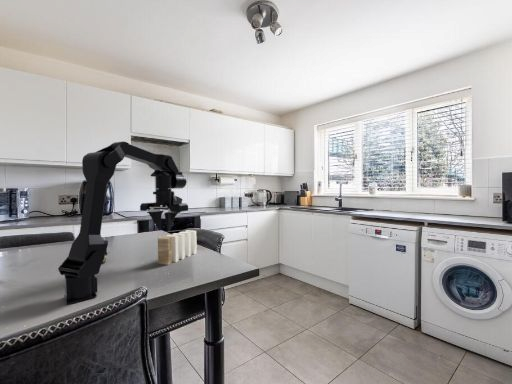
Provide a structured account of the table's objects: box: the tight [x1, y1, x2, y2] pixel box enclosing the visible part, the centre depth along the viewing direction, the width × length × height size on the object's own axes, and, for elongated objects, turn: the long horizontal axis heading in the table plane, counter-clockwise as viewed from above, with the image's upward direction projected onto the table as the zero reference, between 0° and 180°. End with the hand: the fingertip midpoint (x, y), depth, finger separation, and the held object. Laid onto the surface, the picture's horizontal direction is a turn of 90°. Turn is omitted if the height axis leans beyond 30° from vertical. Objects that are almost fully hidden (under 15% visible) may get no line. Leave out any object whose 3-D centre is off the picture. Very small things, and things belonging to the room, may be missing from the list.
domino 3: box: [171, 232, 186, 260], centre depth 104 cm, size 2×5×10 cm, turn 68°
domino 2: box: [164, 234, 180, 263], centre depth 100 cm, size 2×5×10 cm, turn 68°
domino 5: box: [184, 229, 198, 255], centre depth 111 cm, size 2×5×10 cm, turn 68°
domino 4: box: [178, 231, 192, 258], centre depth 108 cm, size 2×5×10 cm, turn 68°
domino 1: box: [157, 236, 173, 266], centre depth 97 cm, size 2×5×10 cm, turn 68°
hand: (164, 229), depth 96 cm, fingers open, 4 cm apart
